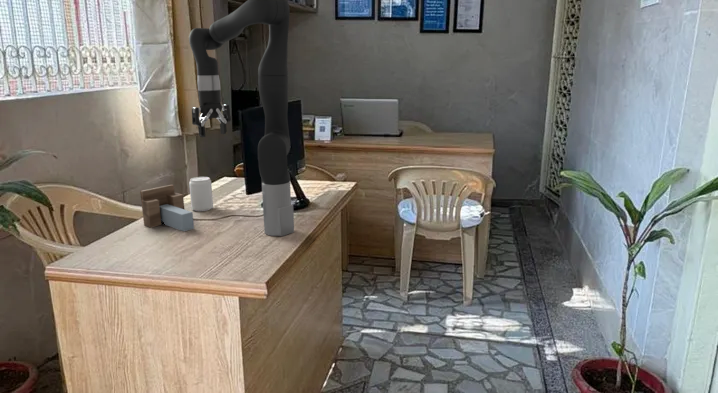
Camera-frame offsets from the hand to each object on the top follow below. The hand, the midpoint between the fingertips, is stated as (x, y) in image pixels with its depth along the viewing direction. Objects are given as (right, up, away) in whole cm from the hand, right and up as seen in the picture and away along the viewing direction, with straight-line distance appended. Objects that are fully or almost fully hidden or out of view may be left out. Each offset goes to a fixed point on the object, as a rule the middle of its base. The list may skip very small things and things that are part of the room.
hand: (213, 135), depth 187 cm
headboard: (-18, -30, +3) cm, 36 cm away
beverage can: (-9, -27, +18) cm, 33 cm away
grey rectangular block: (-13, -32, -2) cm, 34 cm away
